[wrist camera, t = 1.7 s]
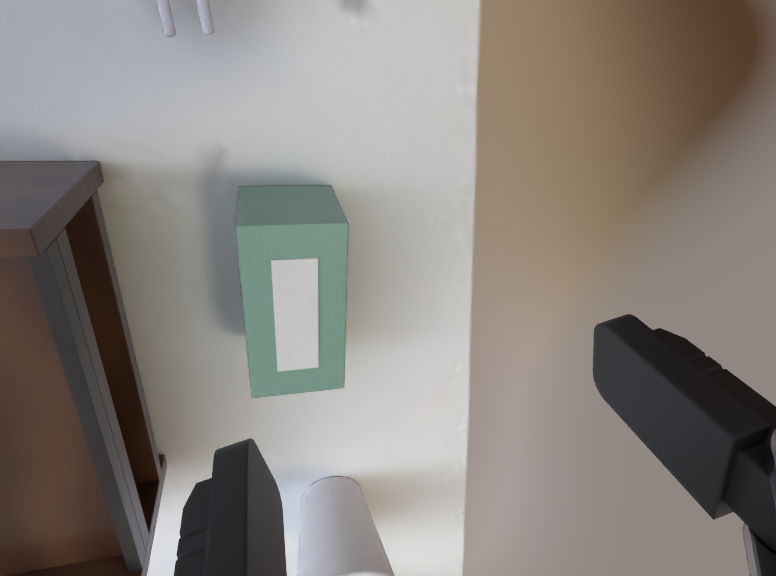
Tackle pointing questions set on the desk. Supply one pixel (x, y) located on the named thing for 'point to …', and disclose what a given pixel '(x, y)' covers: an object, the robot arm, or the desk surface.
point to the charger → (169, 24)
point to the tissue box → (293, 287)
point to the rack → (68, 386)
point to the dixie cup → (338, 532)
